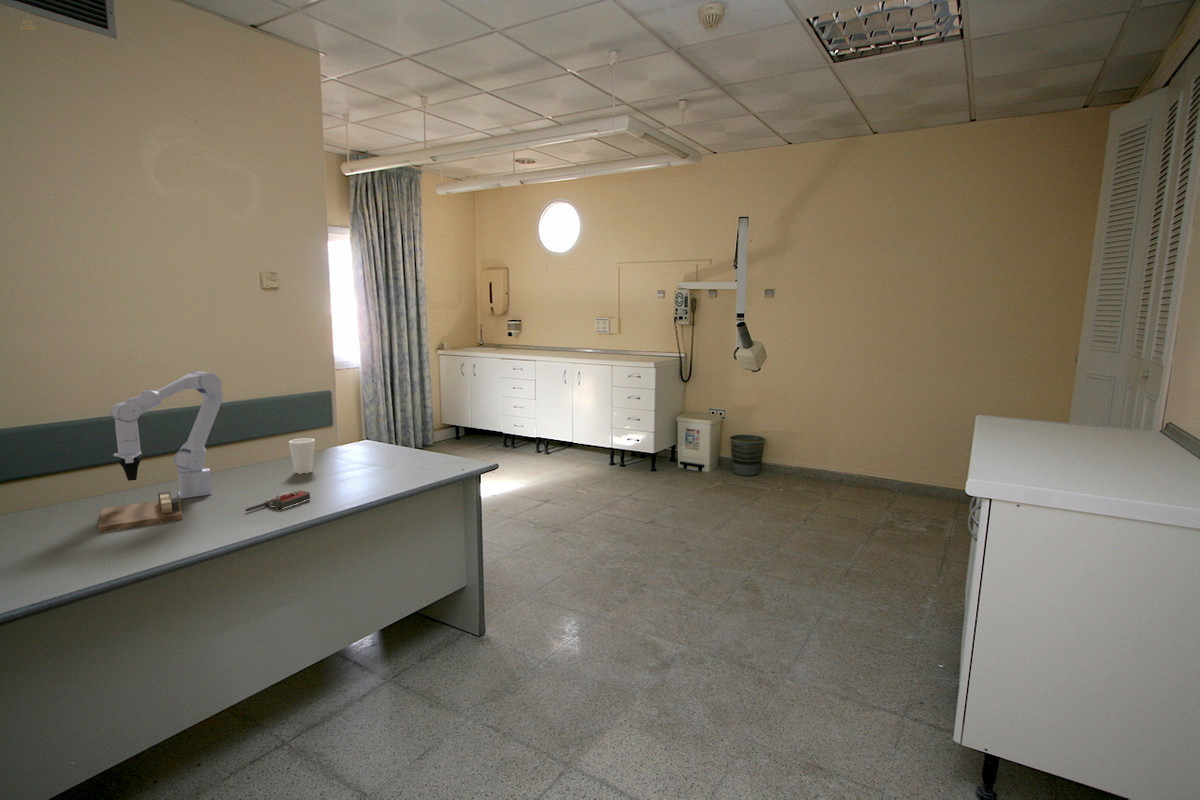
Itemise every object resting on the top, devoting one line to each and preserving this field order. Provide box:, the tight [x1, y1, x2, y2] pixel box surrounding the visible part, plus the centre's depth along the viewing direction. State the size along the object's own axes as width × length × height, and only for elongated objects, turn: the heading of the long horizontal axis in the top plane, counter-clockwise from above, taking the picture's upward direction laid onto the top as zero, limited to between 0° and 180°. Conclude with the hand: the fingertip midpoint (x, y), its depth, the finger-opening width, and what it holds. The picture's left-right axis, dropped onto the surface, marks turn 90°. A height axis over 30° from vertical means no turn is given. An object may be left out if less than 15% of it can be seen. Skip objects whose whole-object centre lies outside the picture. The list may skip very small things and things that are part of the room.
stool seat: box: [98, 497, 183, 533], centre depth 187 cm, size 20×20×5 cm
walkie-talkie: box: [245, 490, 311, 512], centre depth 199 cm, size 9×4×20 cm
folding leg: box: [157, 491, 172, 513], centre depth 190 cm, size 15×3×3 cm, turn 39°
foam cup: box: [288, 437, 316, 475], centre depth 240 cm, size 10×9×13 cm
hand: (132, 479), depth 194 cm, fingers closed
